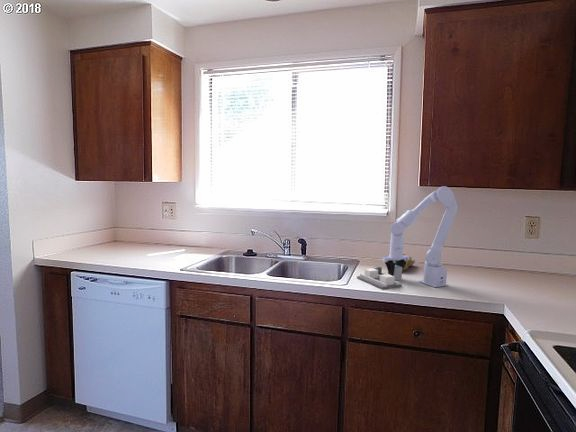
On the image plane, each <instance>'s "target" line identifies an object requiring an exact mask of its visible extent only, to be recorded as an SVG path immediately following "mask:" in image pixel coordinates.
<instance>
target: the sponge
mask: <svg viewBox="0 0 576 432" xmlns="http://www.w3.org/2000/svg"><path fill="white" fill-rule="evenodd" d="M402 255H407V256H409V260H404V261H406V265H405V266H404V268H403V270H402V271H406V270H408V268H409V267H410V266H411V267H412V266H413V265H414V264H415V263H416V259H414V258H413V257H412V256H410V255H408V254H403V253H402ZM393 263H396V262H395V261H393Z"/></svg>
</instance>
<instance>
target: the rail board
mask: <svg viewBox="0 0 576 432" xmlns="http://www.w3.org/2000/svg"><path fill="white" fill-rule="evenodd" d="M356 279H358V280H359V281H362V282H364V283H367V284H369V285H371V286H373V287H375V288H378V289H380V290H387V289H394V288H402V287H403V283H400V282H399V281H397V280H396V281H394V276H392V275H389V274H388V273H387V274H386V273H385V274H378V270H376V269H374V268H370V267H369V268H365V269H364V274H363V273H359V275H357V276H356Z"/></svg>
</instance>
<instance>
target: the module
mask: <svg viewBox="0 0 576 432" xmlns="http://www.w3.org/2000/svg"><path fill="white" fill-rule="evenodd" d="M387 274H389V273H388V272H387ZM393 276H394V281H396V282H397V281H401V280H402V279H403V270H402V267H400V266H397V265H395V268H394V274H393Z"/></svg>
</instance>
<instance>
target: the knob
mask: <svg viewBox="0 0 576 432" xmlns="http://www.w3.org/2000/svg"><path fill="white" fill-rule="evenodd" d="M373 269H376V270H378V274H379V275H383V274H382V273H383V272H382V271H383V267H381V266H374V268H373Z"/></svg>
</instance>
